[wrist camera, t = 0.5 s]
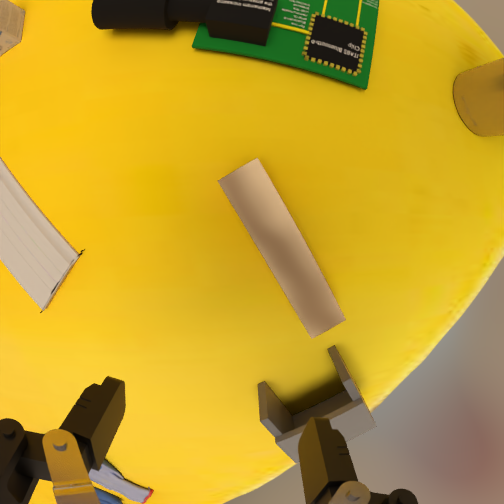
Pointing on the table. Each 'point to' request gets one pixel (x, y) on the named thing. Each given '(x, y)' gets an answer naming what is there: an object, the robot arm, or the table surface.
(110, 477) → the pair of gloves
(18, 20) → the light bulb box
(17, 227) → the baseboard molding
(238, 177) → the slat
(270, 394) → the end cap
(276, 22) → the electronic board model
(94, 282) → the table surface
